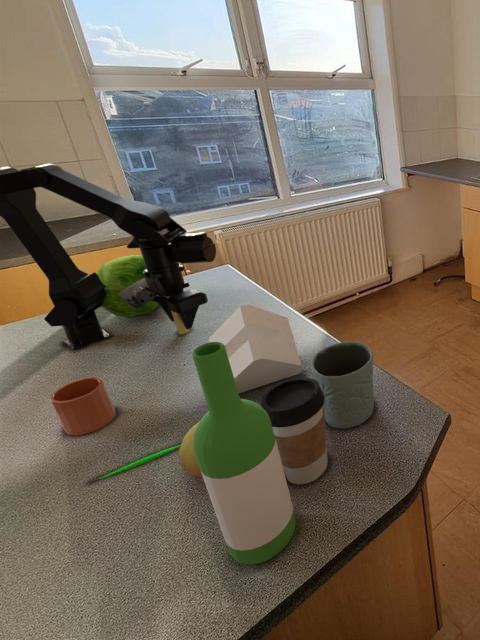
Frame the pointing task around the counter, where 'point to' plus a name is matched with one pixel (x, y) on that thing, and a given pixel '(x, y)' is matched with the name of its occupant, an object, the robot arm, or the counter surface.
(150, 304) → the lettuce
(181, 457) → the apple
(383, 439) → the counter surface
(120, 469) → the leaf
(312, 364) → the grey green pot
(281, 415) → the coffee cup
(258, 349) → the beige block
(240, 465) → the bottle
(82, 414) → the cup
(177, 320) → the tan solid cylinder
